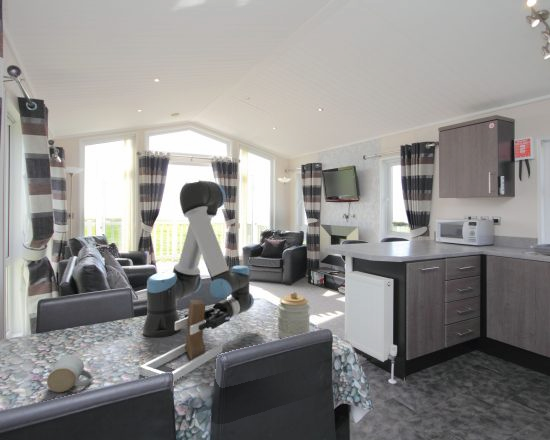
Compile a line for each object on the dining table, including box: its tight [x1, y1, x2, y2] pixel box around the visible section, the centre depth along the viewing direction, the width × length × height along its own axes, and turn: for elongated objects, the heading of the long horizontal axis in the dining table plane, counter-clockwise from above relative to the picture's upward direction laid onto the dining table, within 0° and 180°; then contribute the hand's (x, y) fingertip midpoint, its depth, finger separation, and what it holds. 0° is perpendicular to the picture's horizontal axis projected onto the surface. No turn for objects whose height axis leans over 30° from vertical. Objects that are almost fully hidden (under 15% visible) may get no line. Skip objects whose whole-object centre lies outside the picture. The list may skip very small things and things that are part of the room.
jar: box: [277, 291, 311, 339], centre depth 132 cm, size 13×13×18 cm
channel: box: [139, 342, 223, 383], centre depth 109 cm, size 12×25×2 cm, turn 151°
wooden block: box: [184, 299, 207, 361], centre depth 112 cm, size 9×4×18 cm, turn 28°
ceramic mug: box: [46, 354, 94, 393], centre depth 94 cm, size 11×8×8 cm
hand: (183, 328), depth 109 cm, fingers closed on wooden block, 6 cm apart
